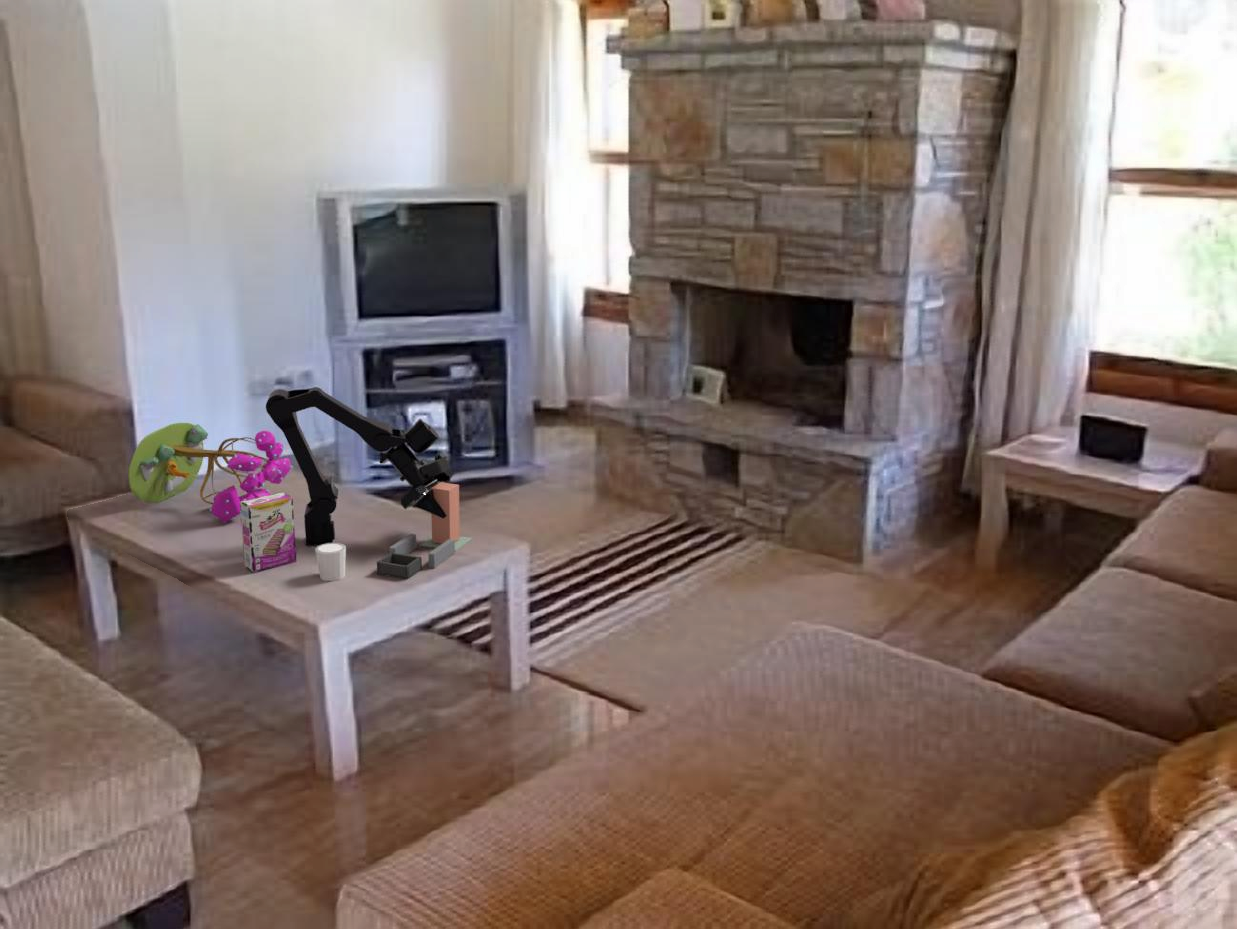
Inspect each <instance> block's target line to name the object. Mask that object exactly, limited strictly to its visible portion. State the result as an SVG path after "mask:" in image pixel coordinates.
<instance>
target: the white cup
mask: <svg viewBox="0 0 1237 929" xmlns="http://www.w3.org/2000/svg"><path fill="white" fill-rule="evenodd" d="M314 551H315V556H316V561H317V566H318V567H317V568H318V572H319V578H320V579H321V580H322V581H326V582H328V581H329V582H332V581H339V580H341V579H343V578H345V577H346V560H347V557H346V555H347V546H346V545H345V544H343V543H339V542H333V543H326V544H322V545H316V547H315V549H314Z"/></svg>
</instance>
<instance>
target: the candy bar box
mask: <svg viewBox="0 0 1237 929" xmlns="http://www.w3.org/2000/svg"><path fill="white" fill-rule="evenodd" d="M293 500H294V499H293V496H291V495H289V494H287V493H285V492H280V493H279V492H278V493H275V494H271V495H269V496H264V497H260V498H255V499H250V500H246V501H241V502H240V511H241V514H240V520H241V521H240V522H241V533H242V547H243V548H242V550H243V561H244V567H245V568H246V569H247V570H248V571H250V570H251V571H250V572H252V571H253V572H252V573H254V572H255V573H258V572H261V571H264V570H270V569H273V568H276V567H279V566H283V565H288V564H292V563H295V562H297V547H296V532H295V530H296V529H295V519H294V518H295V517H294V514H295V513H294V501H293ZM257 571H258V572H257Z"/></svg>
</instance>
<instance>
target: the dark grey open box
mask: <svg viewBox="0 0 1237 929" xmlns="http://www.w3.org/2000/svg"><path fill="white" fill-rule="evenodd" d="M422 558H423V557H422V556H416V555H411V554H407V555H404V554H398V553H390V554H388V555H385V556H383V558H381V559H380V560H378V561H376V572H377V575H379V576H386V577H391V578H400V579H404V580H409V579H410V578H412V577H414V576H415V575H416V574H417V573H419V572H420V571H422V570H423V563H422Z"/></svg>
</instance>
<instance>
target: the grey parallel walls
mask: <svg viewBox="0 0 1237 929" xmlns="http://www.w3.org/2000/svg"><path fill="white" fill-rule="evenodd" d="M388 548H389V554H390V553H398V554H404V555H409V554H410V553H411V552H413V551H414V550H416V549H417V548H418V547H417V534H416V533H409V534H407V535H406V536H405V537H403V538H402V539H400V540H398V541H397V542H396V543H394V544H393V545H391V546H389V547H388ZM455 553H456V551H455V543H454V540H451V539H448V540H447V541H446V542H444V543H443V544H441V545H440V546H438V547H437V548H433V550H431V551H430V552H428V568H430V569H436V568H437V567H439V566H440V565H441V564H443V563H444V562H445V561H448V560H449V559H450V558H451V557H452V556H453V554H454V555H455ZM389 554H388V555H389Z"/></svg>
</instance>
